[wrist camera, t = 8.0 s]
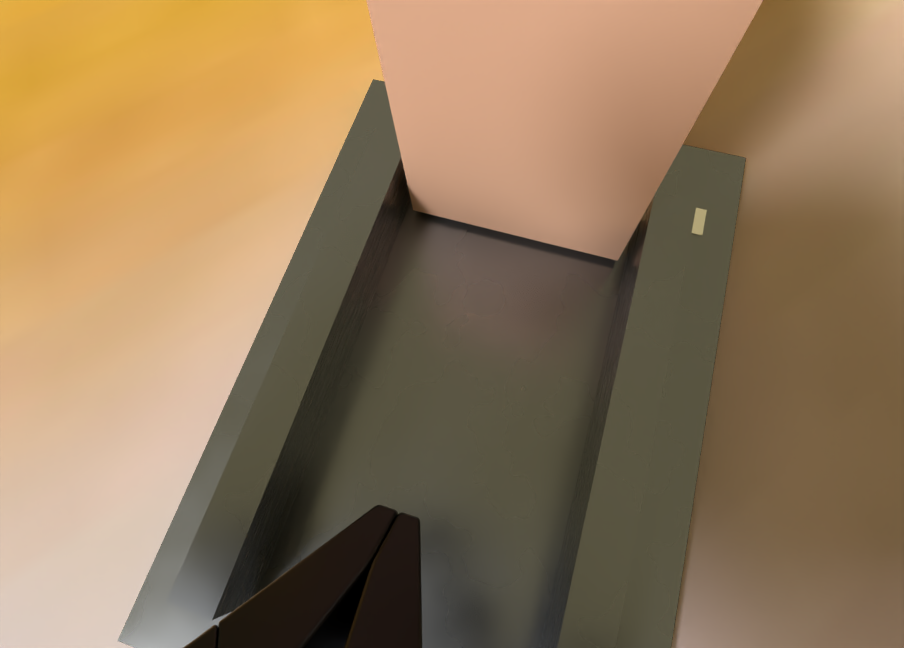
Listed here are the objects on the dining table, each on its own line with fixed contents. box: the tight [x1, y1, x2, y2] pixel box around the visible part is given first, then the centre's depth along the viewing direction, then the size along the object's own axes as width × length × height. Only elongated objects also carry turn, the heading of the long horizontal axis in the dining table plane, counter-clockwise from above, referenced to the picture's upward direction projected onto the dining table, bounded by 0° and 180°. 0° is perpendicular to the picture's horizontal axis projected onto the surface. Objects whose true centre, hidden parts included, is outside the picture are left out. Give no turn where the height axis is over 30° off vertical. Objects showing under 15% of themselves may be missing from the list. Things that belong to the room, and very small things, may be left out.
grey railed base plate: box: [118, 79, 746, 648], centre depth 15 cm, size 20×14×3 cm
